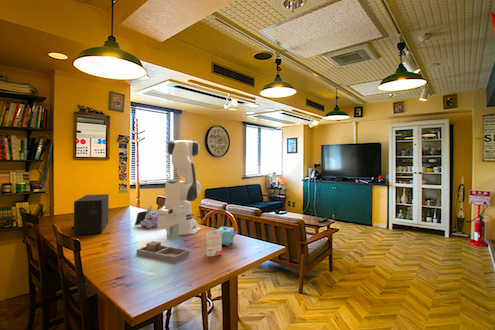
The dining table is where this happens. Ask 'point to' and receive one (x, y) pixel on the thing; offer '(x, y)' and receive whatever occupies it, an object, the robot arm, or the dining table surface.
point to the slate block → (174, 233)
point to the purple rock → (147, 218)
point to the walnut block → (153, 246)
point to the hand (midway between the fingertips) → (172, 233)
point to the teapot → (226, 235)
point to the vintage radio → (91, 214)
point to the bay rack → (165, 254)
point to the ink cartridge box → (213, 243)
